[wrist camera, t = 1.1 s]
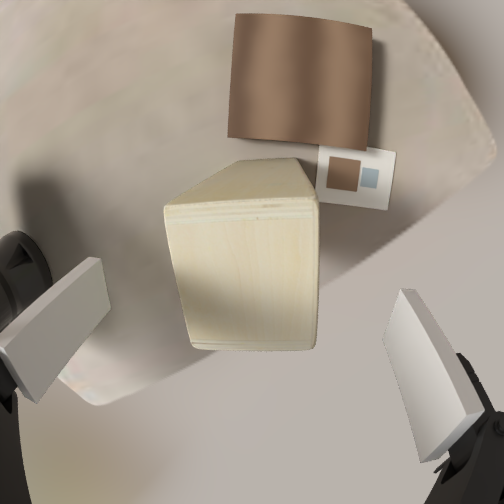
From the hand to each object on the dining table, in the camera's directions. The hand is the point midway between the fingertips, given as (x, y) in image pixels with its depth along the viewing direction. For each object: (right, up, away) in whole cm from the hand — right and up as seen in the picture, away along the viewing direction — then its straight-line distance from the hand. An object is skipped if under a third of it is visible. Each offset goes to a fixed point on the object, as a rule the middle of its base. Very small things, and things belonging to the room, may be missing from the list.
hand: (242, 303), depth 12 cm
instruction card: (+12, +11, +18) cm, 24 cm away
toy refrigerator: (+2, +9, +20) cm, 22 cm away
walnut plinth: (+6, +20, +15) cm, 26 cm away
